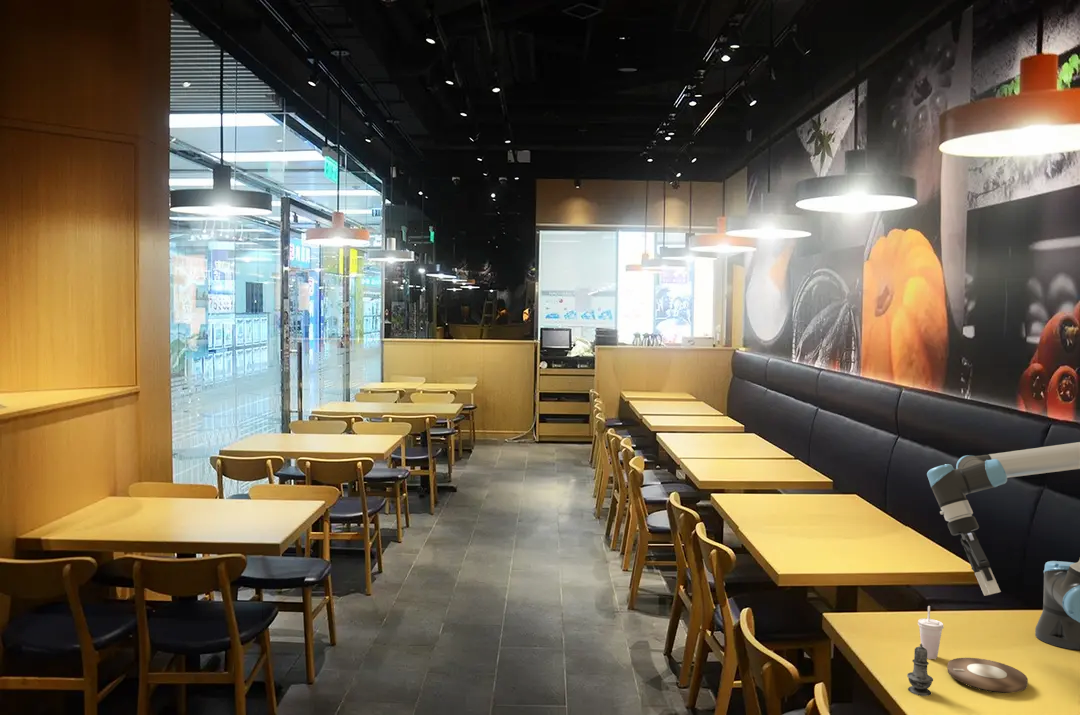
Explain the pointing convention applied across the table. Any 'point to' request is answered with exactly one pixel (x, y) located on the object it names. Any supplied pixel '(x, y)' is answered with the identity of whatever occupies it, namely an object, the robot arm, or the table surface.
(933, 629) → the smoothie
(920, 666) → the salt shaker
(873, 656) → the table surface
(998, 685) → the turntable
